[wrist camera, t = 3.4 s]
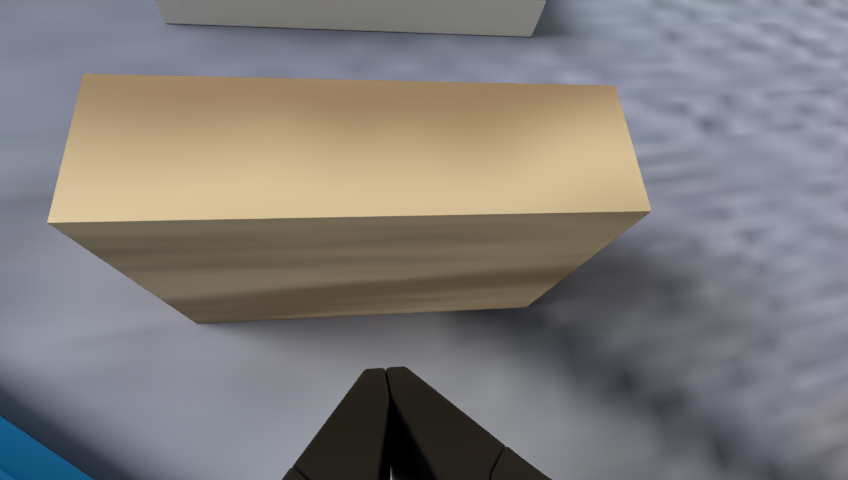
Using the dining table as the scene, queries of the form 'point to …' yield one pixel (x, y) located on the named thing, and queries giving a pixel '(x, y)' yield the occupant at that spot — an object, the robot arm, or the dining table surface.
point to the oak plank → (344, 191)
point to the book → (31, 458)
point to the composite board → (364, 15)
